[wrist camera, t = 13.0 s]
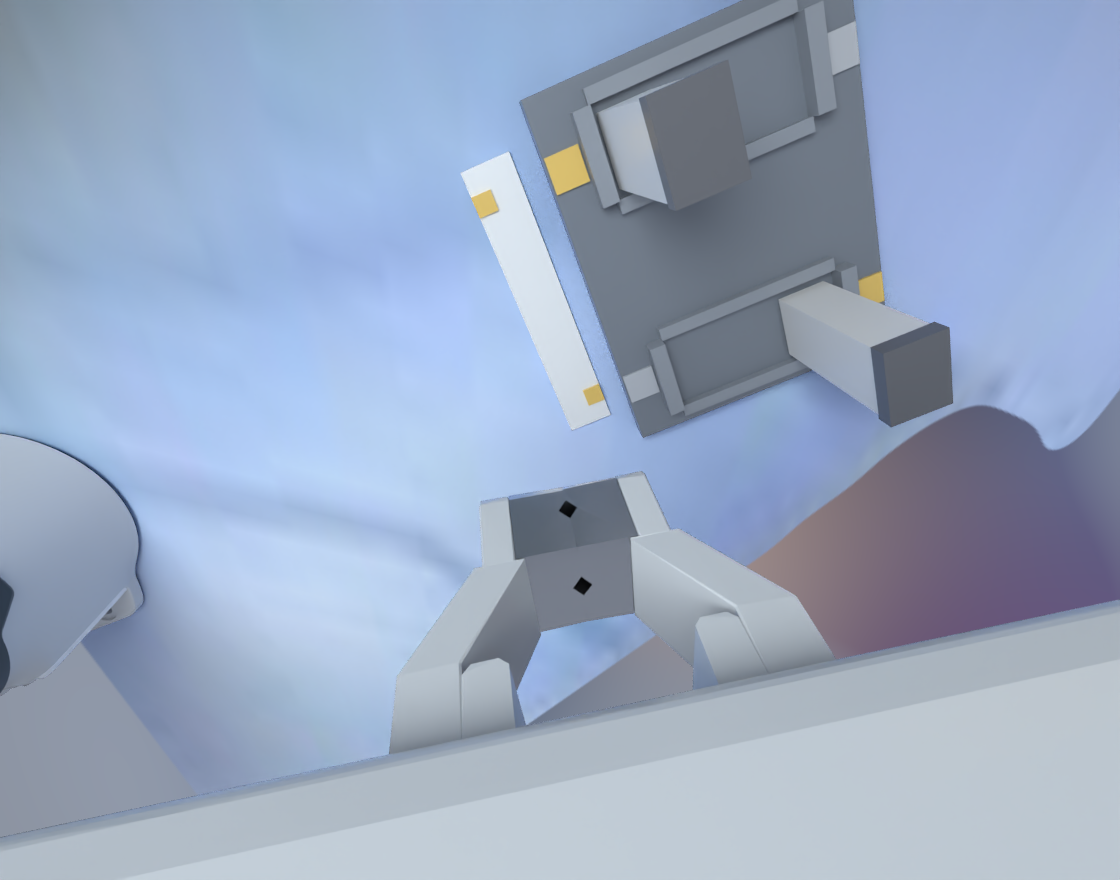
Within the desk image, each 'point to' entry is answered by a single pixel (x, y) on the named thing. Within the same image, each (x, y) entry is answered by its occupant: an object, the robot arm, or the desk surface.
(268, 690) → the desk surface
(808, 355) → the toggle rear
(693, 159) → the toggle front
